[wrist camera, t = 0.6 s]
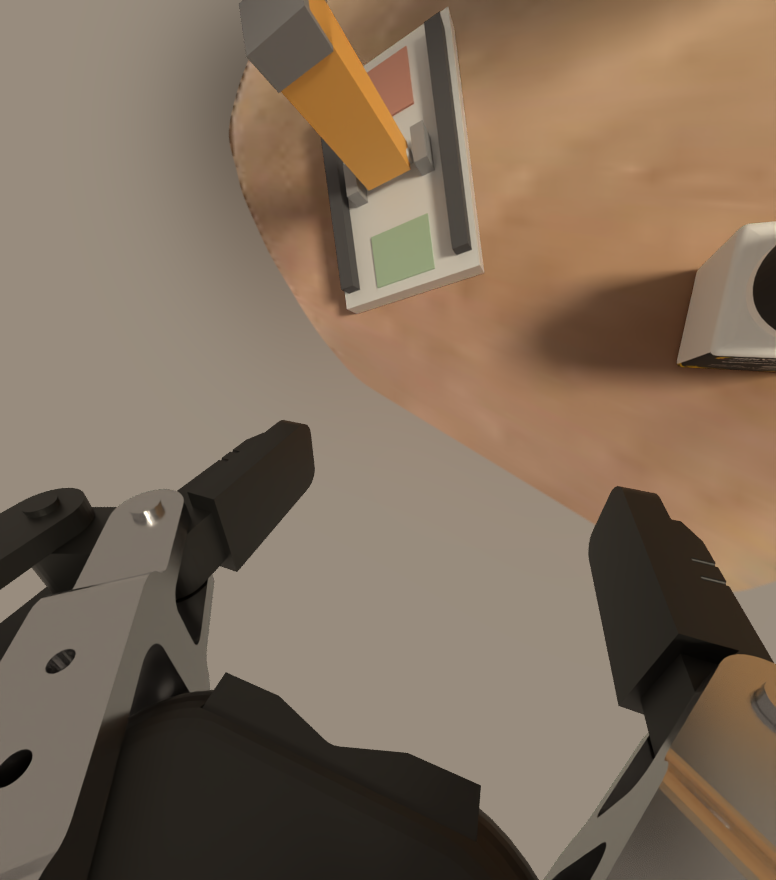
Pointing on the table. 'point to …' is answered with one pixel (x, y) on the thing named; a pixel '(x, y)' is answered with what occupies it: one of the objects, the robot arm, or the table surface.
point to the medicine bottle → (734, 305)
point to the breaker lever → (325, 84)
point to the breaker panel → (411, 187)
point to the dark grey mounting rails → (448, 161)
